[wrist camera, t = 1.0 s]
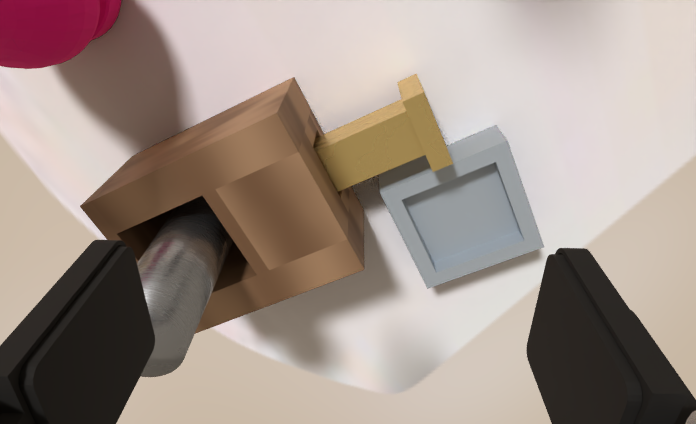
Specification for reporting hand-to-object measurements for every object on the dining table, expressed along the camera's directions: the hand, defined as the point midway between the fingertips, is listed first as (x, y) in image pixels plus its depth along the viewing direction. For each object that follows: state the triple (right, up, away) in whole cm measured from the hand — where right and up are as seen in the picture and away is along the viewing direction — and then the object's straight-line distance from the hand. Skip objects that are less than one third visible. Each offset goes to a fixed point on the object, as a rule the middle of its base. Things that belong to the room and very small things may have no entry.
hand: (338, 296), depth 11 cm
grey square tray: (+8, +3, +22) cm, 24 cm away
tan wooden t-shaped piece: (+2, +7, +20) cm, 21 cm away
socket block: (-6, +4, +22) cm, 23 cm away
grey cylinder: (-9, +3, +23) cm, 24 cm away
